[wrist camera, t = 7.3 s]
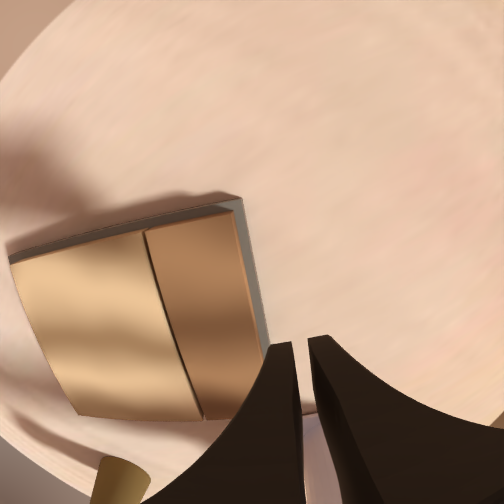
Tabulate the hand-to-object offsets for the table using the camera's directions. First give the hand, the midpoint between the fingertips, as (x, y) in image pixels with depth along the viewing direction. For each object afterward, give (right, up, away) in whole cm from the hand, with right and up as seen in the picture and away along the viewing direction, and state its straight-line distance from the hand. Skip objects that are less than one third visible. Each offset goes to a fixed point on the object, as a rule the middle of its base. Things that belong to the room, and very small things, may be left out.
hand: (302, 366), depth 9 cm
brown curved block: (-4, -1, +10) cm, 11 cm away
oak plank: (-11, -2, +10) cm, 15 cm away
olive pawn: (-16, -21, +16) cm, 31 cm away
